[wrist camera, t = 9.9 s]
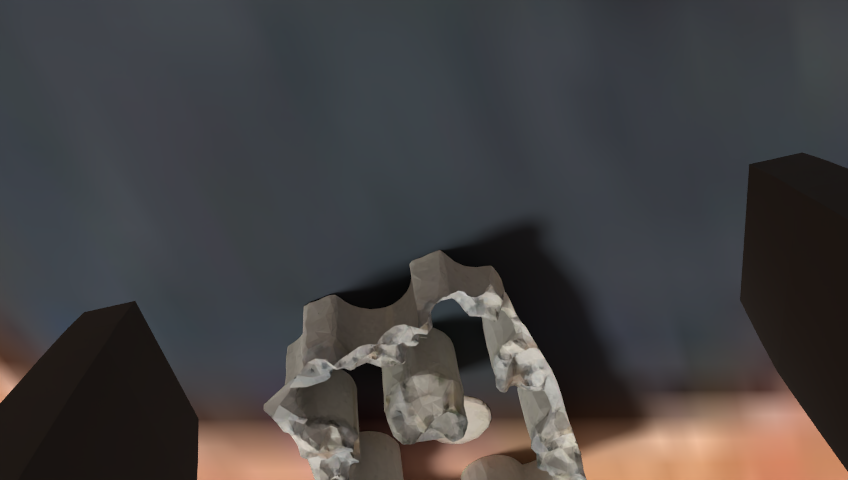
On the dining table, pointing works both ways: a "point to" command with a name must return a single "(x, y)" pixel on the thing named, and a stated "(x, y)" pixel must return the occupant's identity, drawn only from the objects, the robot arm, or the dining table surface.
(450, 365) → the egg carton
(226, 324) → the dining table surface
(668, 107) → the dining table surface
